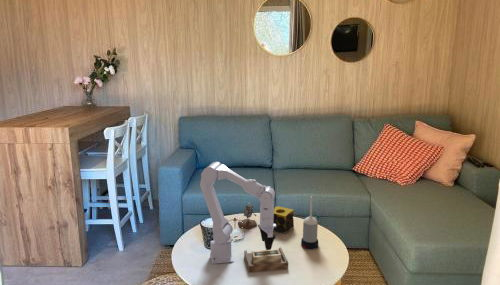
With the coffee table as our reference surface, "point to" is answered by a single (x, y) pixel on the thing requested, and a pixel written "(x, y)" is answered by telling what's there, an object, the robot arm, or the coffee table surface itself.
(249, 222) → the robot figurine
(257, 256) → the tumbler tray
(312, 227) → the humidifier
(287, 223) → the candle
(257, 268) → the wooden tray
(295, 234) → the coffee table surface
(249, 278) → the coffee table surface
